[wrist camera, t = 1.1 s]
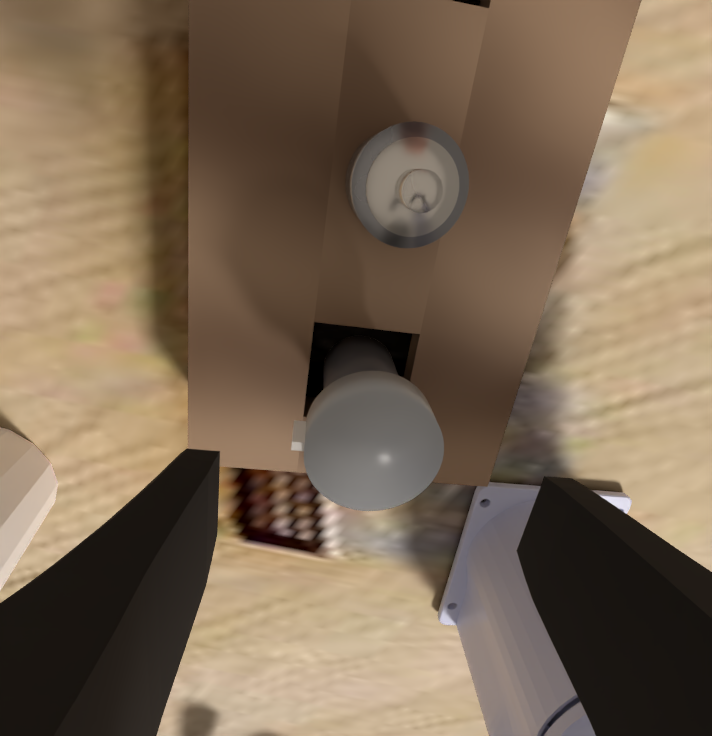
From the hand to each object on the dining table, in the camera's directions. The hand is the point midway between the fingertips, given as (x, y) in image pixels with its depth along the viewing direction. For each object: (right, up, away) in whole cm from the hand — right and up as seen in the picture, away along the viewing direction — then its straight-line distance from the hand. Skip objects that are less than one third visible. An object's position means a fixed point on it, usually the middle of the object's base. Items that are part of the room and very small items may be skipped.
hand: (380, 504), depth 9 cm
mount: (0, +10, +7) cm, 12 cm away
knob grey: (-1, +3, +7) cm, 7 cm away
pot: (+1, +8, +4) cm, 9 cm away
